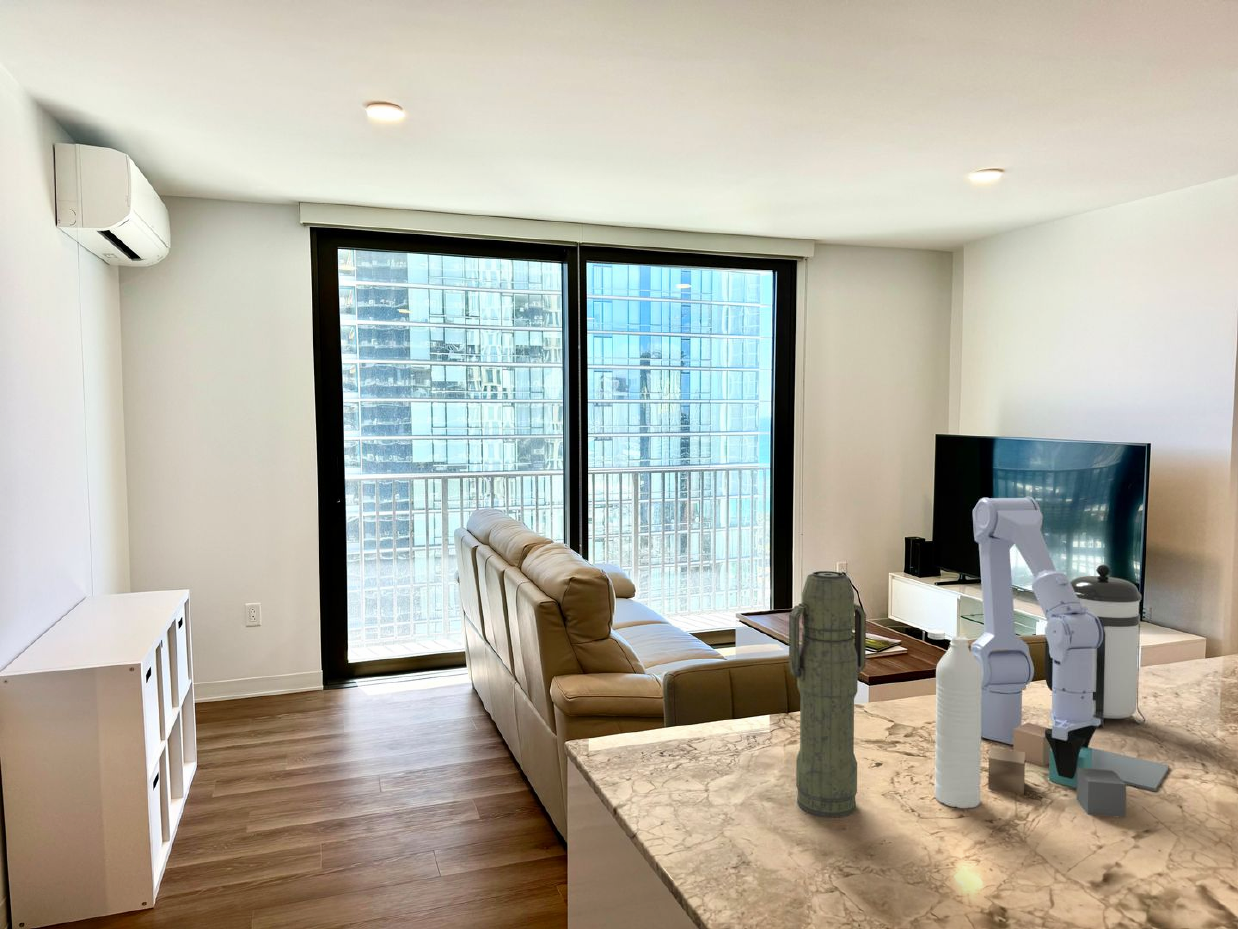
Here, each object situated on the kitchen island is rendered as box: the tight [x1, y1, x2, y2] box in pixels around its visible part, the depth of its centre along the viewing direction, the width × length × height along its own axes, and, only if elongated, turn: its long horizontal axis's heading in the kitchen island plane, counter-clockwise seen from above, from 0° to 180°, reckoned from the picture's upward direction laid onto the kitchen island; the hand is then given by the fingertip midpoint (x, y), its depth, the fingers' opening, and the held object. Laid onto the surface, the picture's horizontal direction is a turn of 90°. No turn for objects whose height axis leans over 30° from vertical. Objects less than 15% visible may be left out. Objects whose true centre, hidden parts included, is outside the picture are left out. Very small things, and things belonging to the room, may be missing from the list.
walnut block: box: [987, 746, 1026, 796], centre depth 132 cm, size 5×5×5 cm
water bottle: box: [927, 629, 982, 809], centre depth 128 cm, size 9×6×25 cm
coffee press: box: [1044, 564, 1146, 729], centre depth 162 cm, size 17×16×30 cm
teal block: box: [1048, 747, 1092, 789], centre depth 134 cm, size 5×5×5 cm
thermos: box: [788, 570, 867, 818], centre depth 125 cm, size 9×12×35 cm
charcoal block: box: [1076, 768, 1127, 818], centre depth 124 cm, size 5×5×5 cm
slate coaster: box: [1088, 746, 1170, 792], centre depth 138 cm, size 12×12×1 cm
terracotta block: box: [1012, 722, 1051, 767], centre depth 143 cm, size 5×5×5 cm
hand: (1070, 771), depth 134 cm, fingers closed on teal block, 5 cm apart
